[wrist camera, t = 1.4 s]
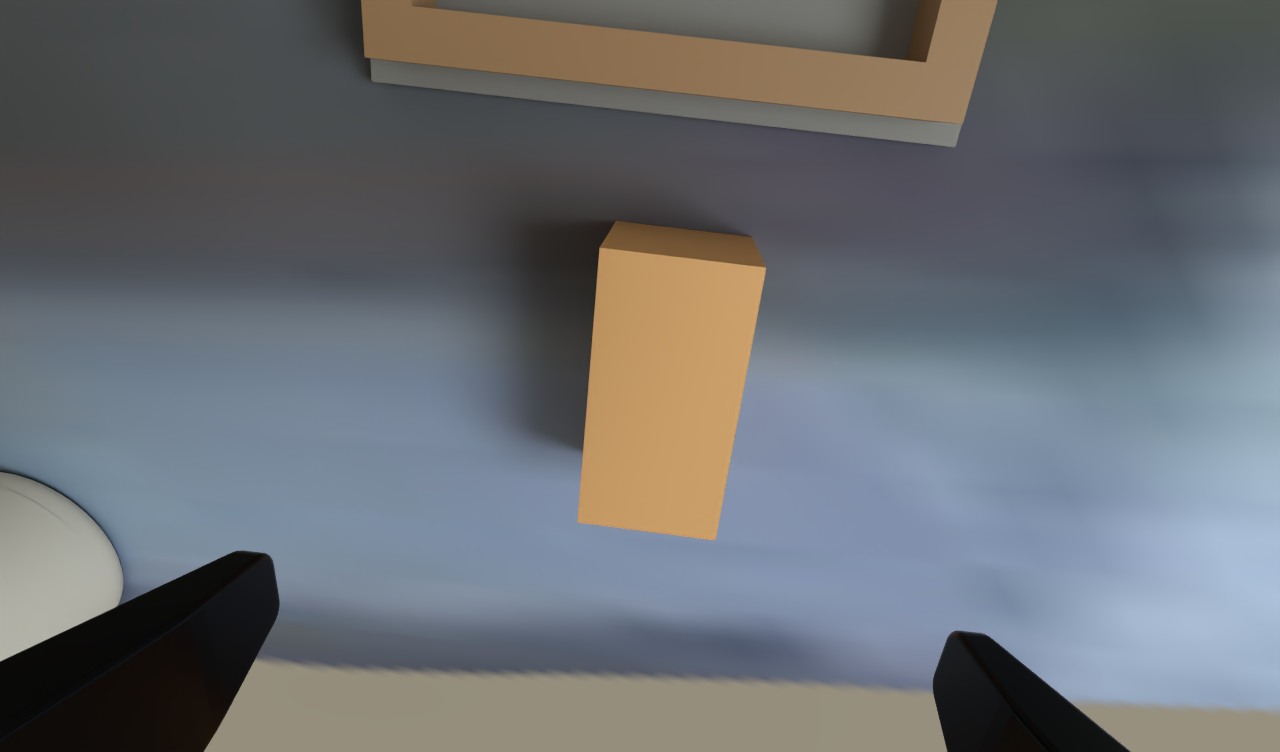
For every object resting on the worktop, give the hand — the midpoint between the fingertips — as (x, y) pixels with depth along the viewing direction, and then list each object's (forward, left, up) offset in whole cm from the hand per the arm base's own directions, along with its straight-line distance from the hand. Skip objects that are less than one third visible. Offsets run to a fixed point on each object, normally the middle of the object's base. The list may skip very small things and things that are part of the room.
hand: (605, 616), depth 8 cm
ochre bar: (-1, +1, -13) cm, 13 cm away
